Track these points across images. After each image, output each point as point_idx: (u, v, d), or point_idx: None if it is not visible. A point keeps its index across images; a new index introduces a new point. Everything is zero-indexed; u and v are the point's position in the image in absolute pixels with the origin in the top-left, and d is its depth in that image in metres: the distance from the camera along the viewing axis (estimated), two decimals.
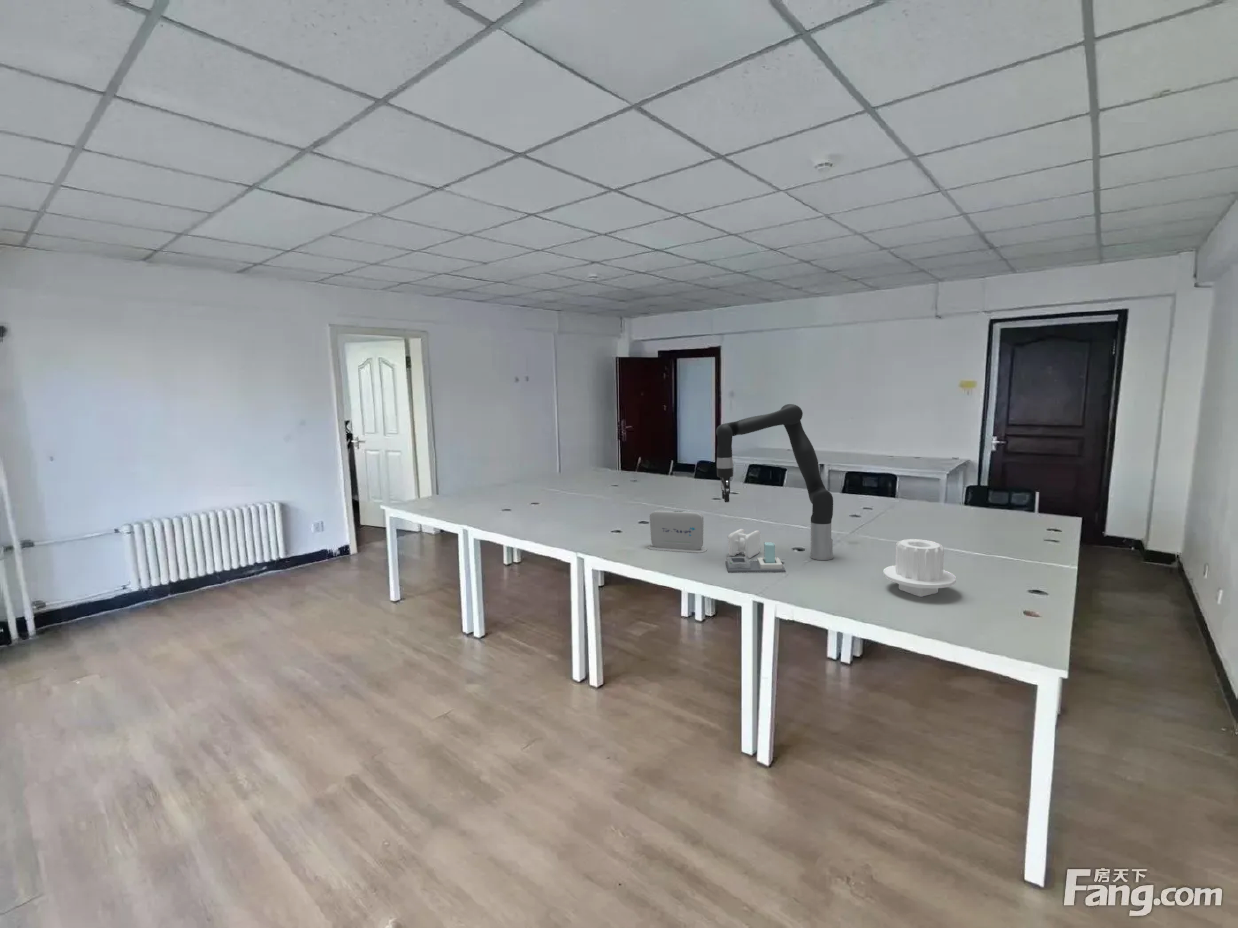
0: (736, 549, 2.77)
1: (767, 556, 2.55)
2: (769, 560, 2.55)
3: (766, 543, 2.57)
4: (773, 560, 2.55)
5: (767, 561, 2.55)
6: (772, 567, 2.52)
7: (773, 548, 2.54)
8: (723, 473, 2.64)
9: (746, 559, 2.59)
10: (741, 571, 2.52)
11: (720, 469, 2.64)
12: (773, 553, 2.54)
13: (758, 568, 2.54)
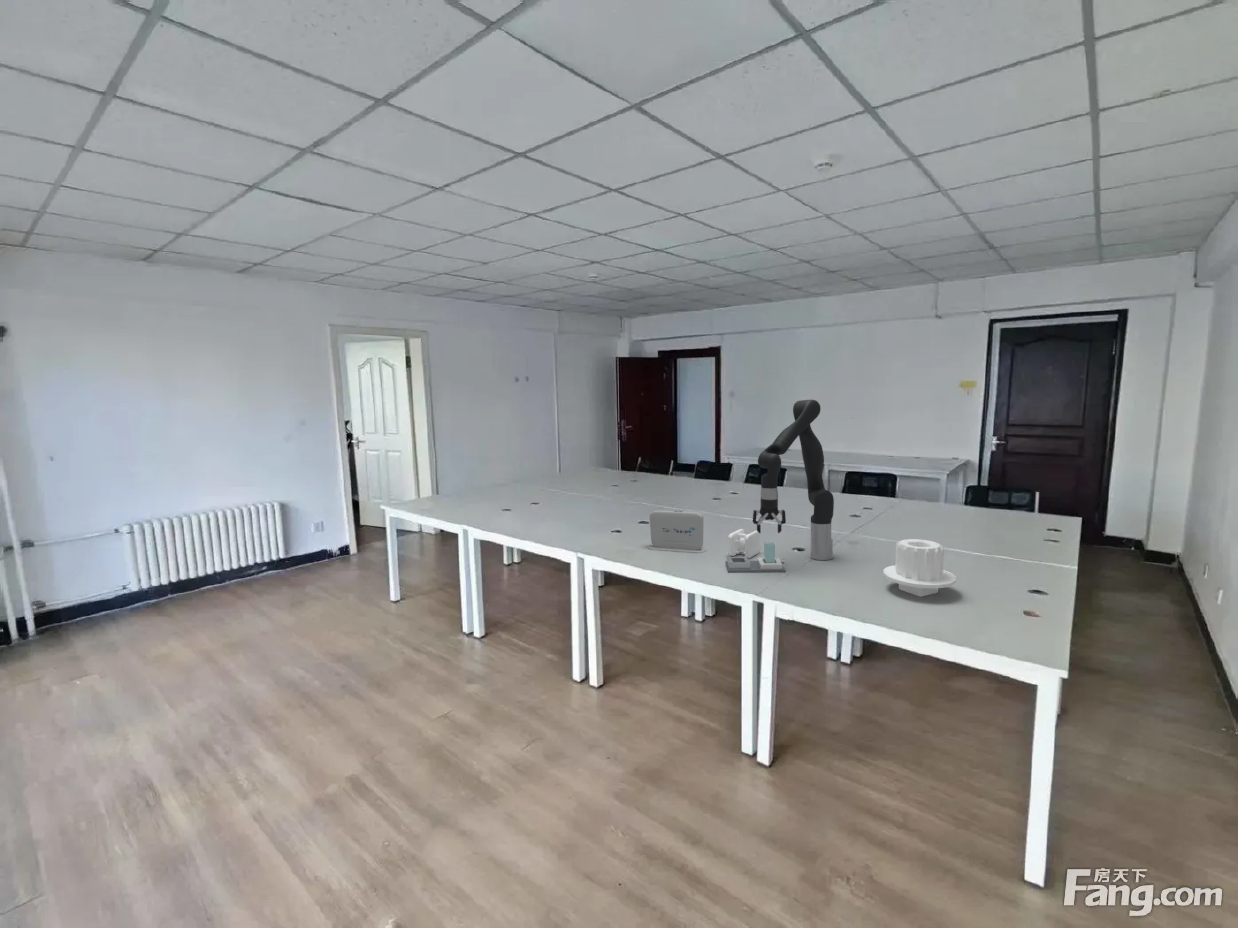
0: (736, 549, 2.77)
1: (767, 556, 2.55)
2: (769, 560, 2.55)
3: (766, 543, 2.57)
4: (773, 560, 2.55)
5: (767, 561, 2.55)
6: (772, 567, 2.52)
7: (773, 548, 2.54)
8: (777, 503, 2.52)
9: (746, 559, 2.59)
10: (741, 571, 2.52)
11: (776, 500, 2.51)
12: (773, 553, 2.54)
13: (758, 568, 2.54)
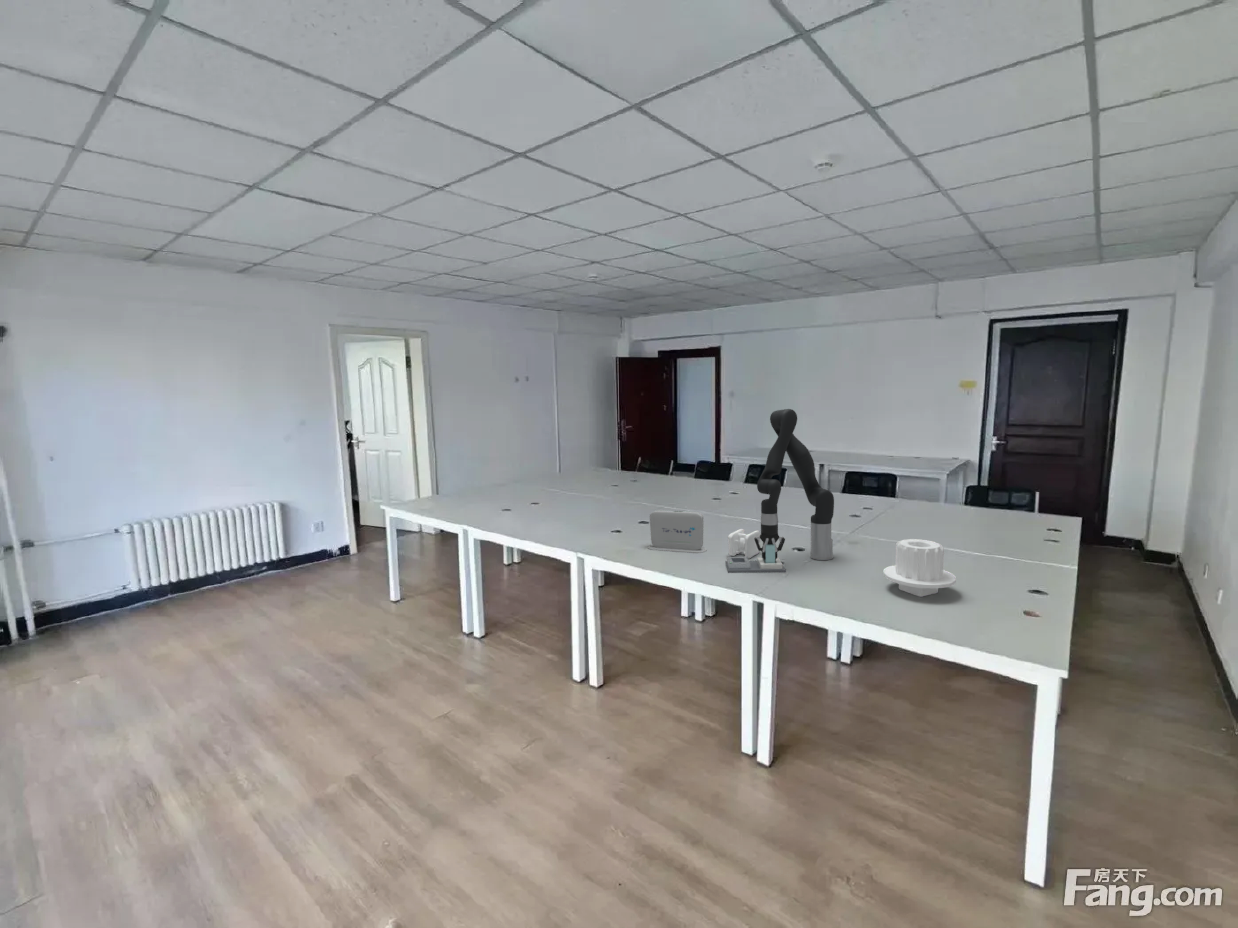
0: (736, 549, 2.77)
1: (767, 556, 2.55)
2: (769, 560, 2.55)
3: None
4: (773, 560, 2.55)
5: (767, 561, 2.55)
6: (772, 567, 2.52)
7: (773, 548, 2.54)
8: (777, 528, 2.54)
9: (746, 559, 2.59)
10: (741, 571, 2.52)
11: (776, 525, 2.52)
12: (773, 553, 2.54)
13: (758, 568, 2.54)
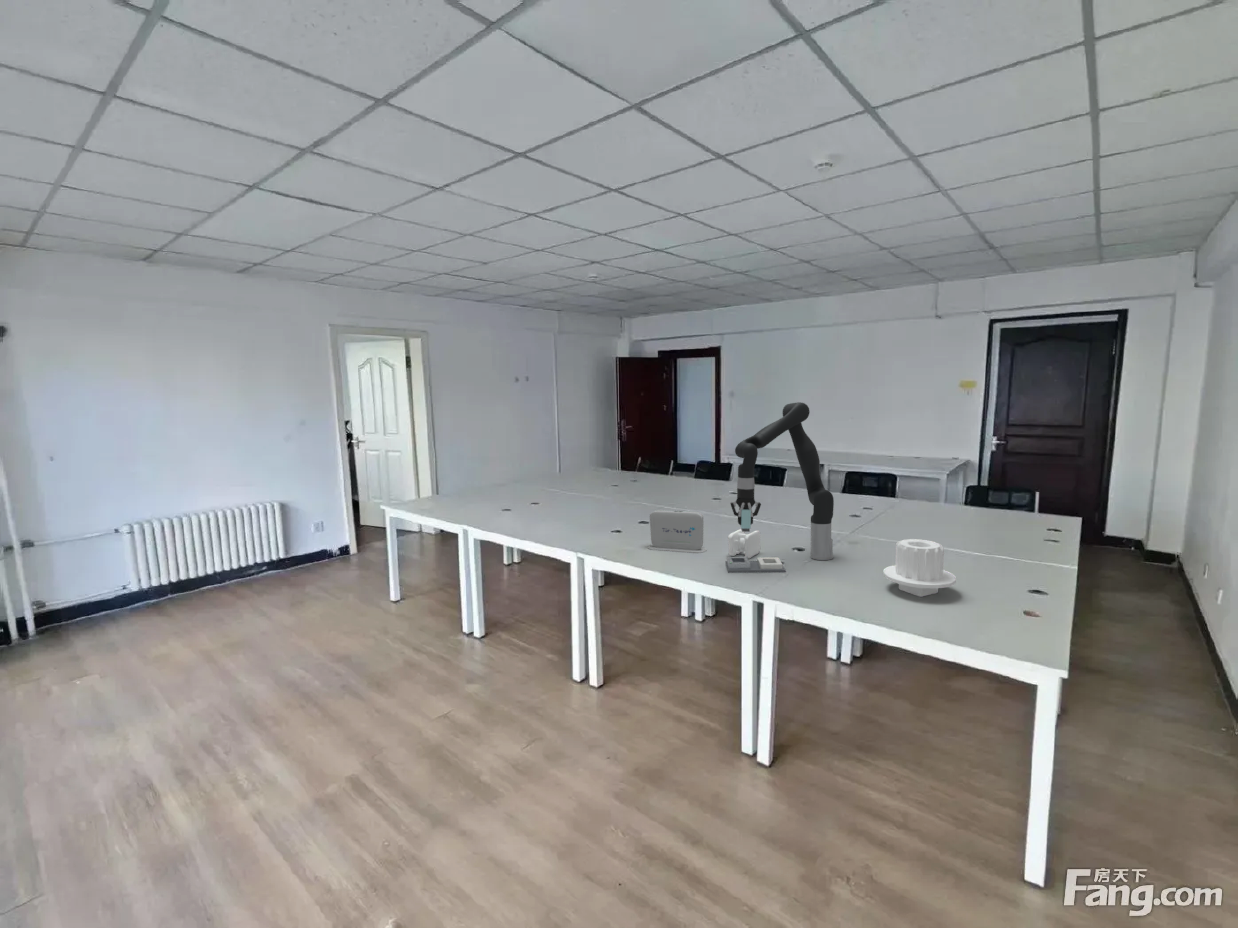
0: (736, 549, 2.77)
1: (743, 521, 2.53)
2: (745, 525, 2.54)
3: None
4: (749, 525, 2.53)
5: (743, 526, 2.54)
6: (772, 567, 2.52)
7: (749, 513, 2.53)
8: None
9: (746, 559, 2.59)
10: (741, 571, 2.52)
11: (752, 489, 2.51)
12: (749, 518, 2.53)
13: (758, 568, 2.54)
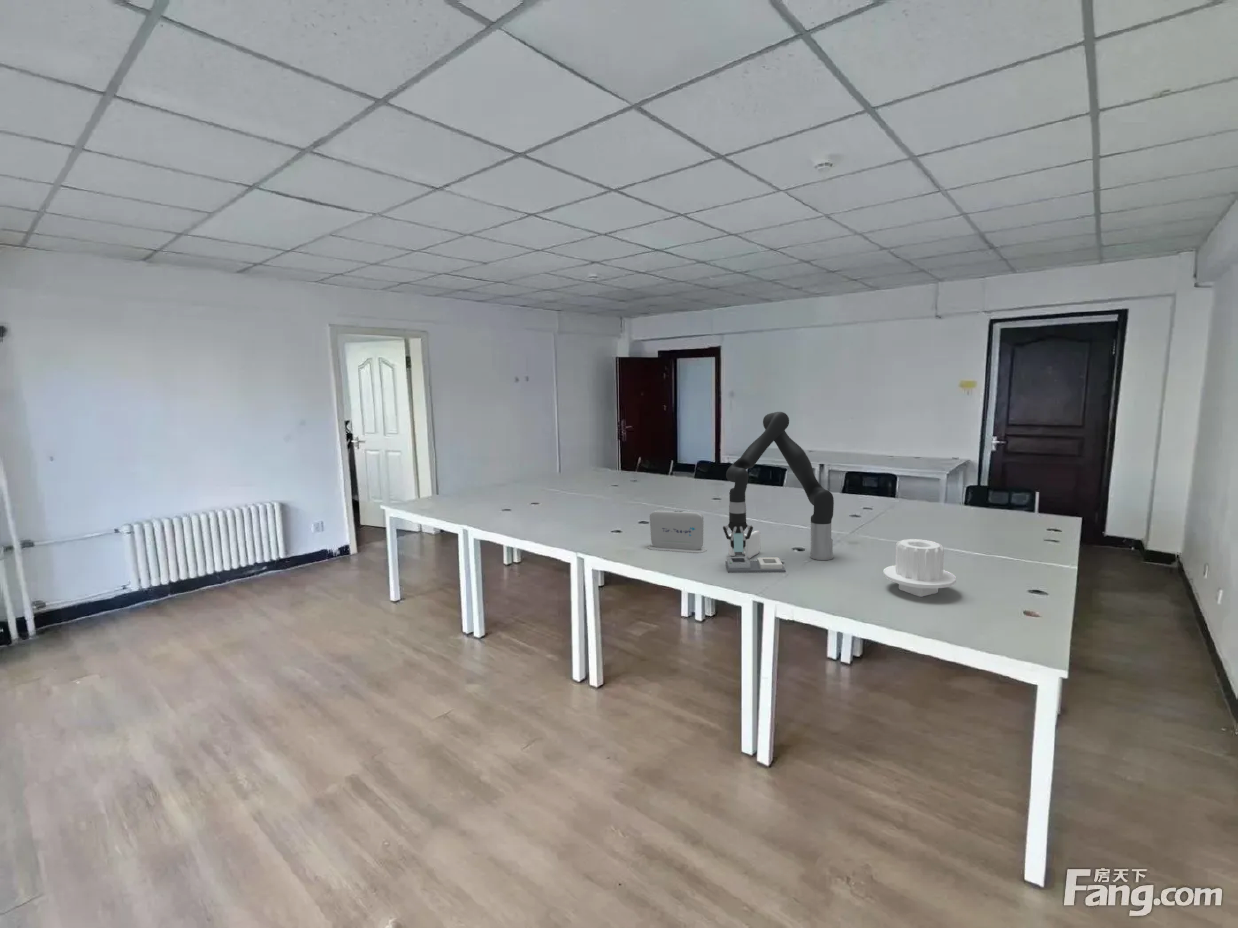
0: None
1: (735, 544, 2.55)
2: (737, 548, 2.55)
3: None
4: (741, 548, 2.55)
5: (735, 549, 2.56)
6: (772, 567, 2.52)
7: (741, 536, 2.55)
8: (745, 516, 2.54)
9: (746, 559, 2.59)
10: (741, 571, 2.52)
11: (744, 513, 2.53)
12: (741, 541, 2.55)
13: (758, 568, 2.54)
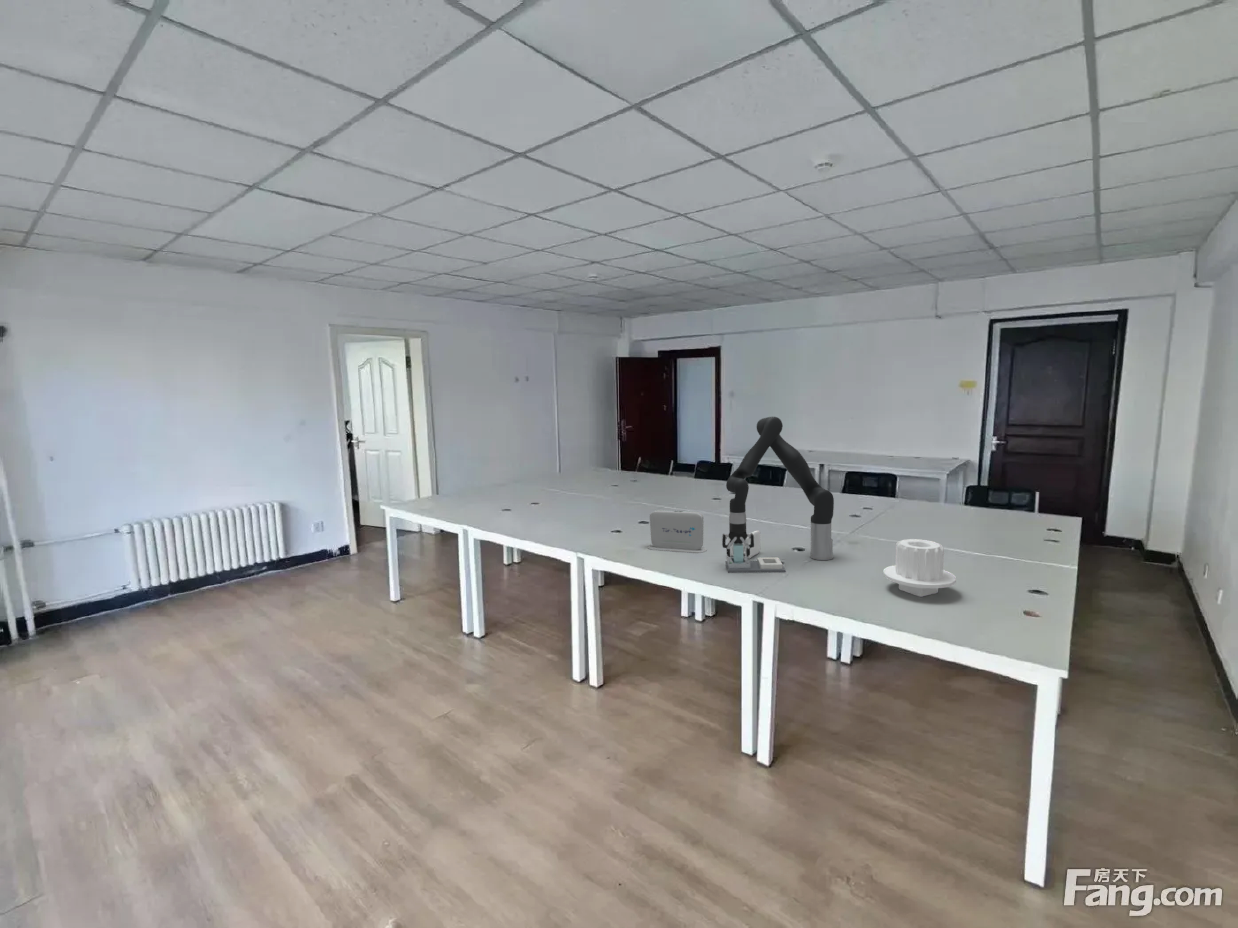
0: None
1: (735, 556, 2.56)
2: (737, 560, 2.56)
3: None
4: (741, 560, 2.56)
5: (735, 561, 2.56)
6: (772, 567, 2.52)
7: (741, 548, 2.55)
8: None
9: (746, 559, 2.59)
10: (741, 571, 2.52)
11: (744, 524, 2.54)
12: (741, 553, 2.56)
13: (758, 568, 2.54)
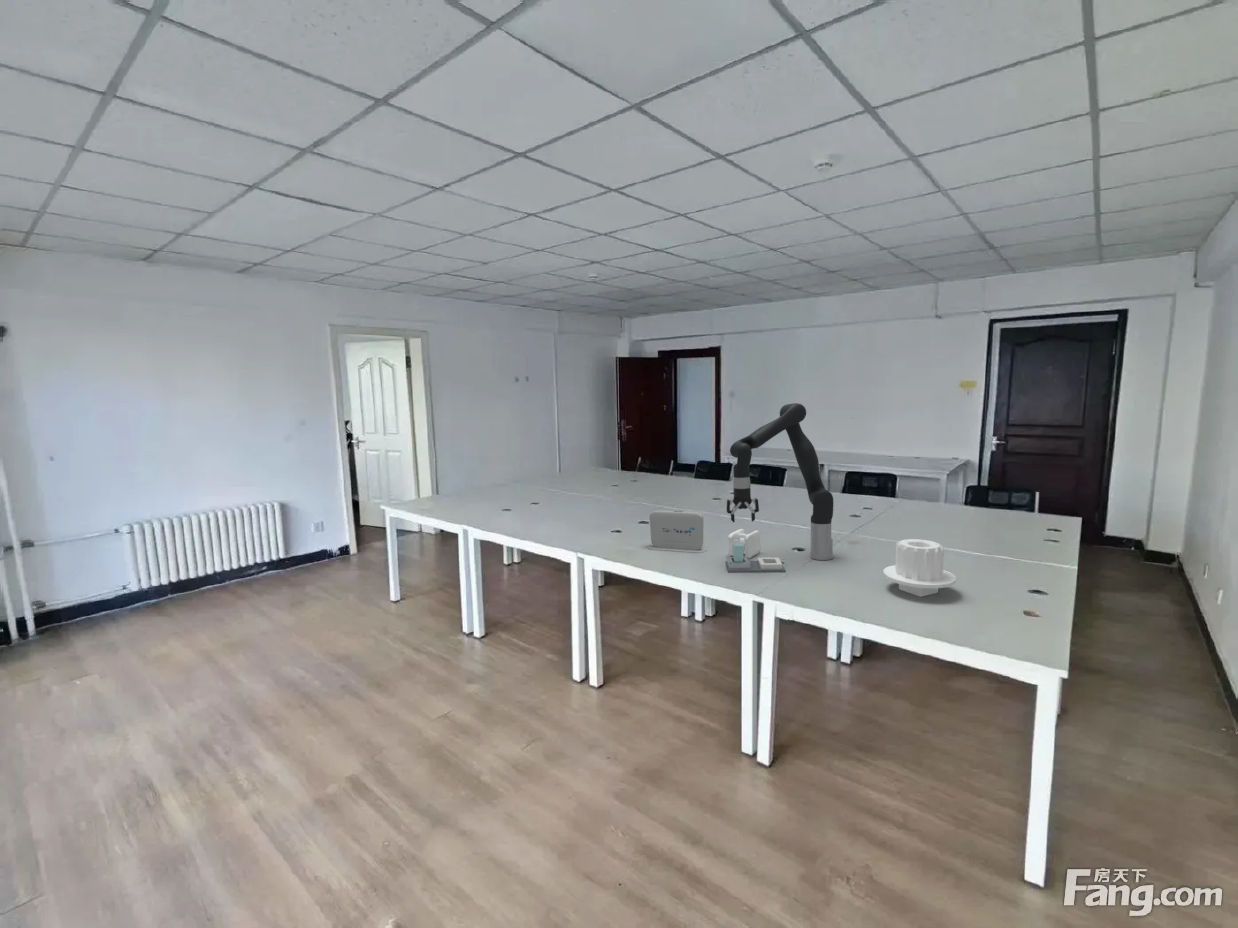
0: None
1: (735, 556, 2.56)
2: (737, 560, 2.56)
3: (735, 543, 2.58)
4: (741, 560, 2.56)
5: (735, 561, 2.56)
6: (772, 567, 2.52)
7: (741, 548, 2.55)
8: (750, 492, 2.55)
9: (746, 559, 2.59)
10: (741, 571, 2.52)
11: (749, 489, 2.54)
12: (741, 553, 2.56)
13: (758, 568, 2.54)
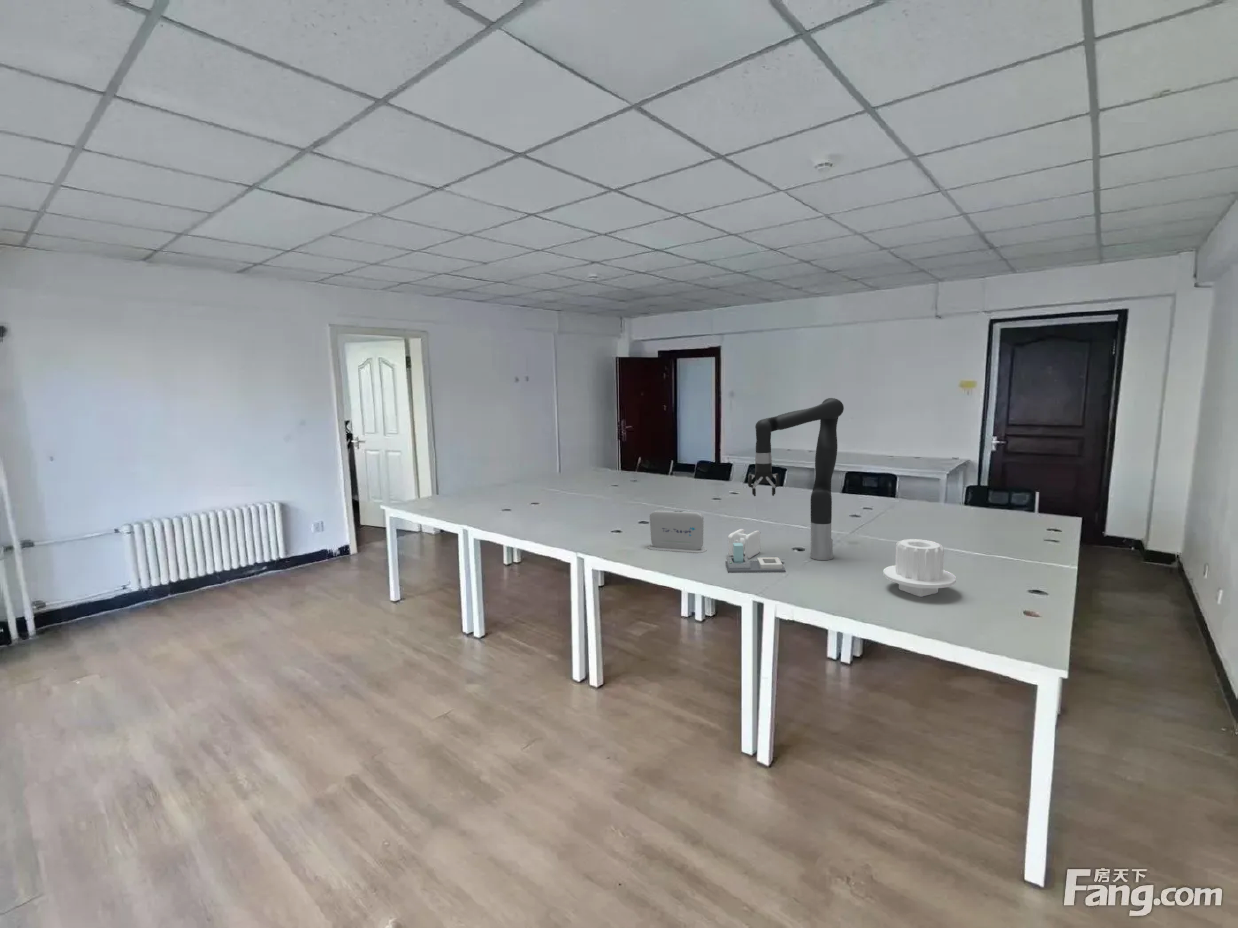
0: None
1: (735, 556, 2.56)
2: (737, 560, 2.56)
3: (735, 543, 2.58)
4: (741, 560, 2.56)
5: (735, 561, 2.56)
6: (772, 567, 2.52)
7: (741, 548, 2.55)
8: (771, 467, 2.66)
9: (746, 559, 2.59)
10: (741, 571, 2.52)
11: (770, 464, 2.65)
12: (741, 553, 2.56)
13: (758, 568, 2.54)
